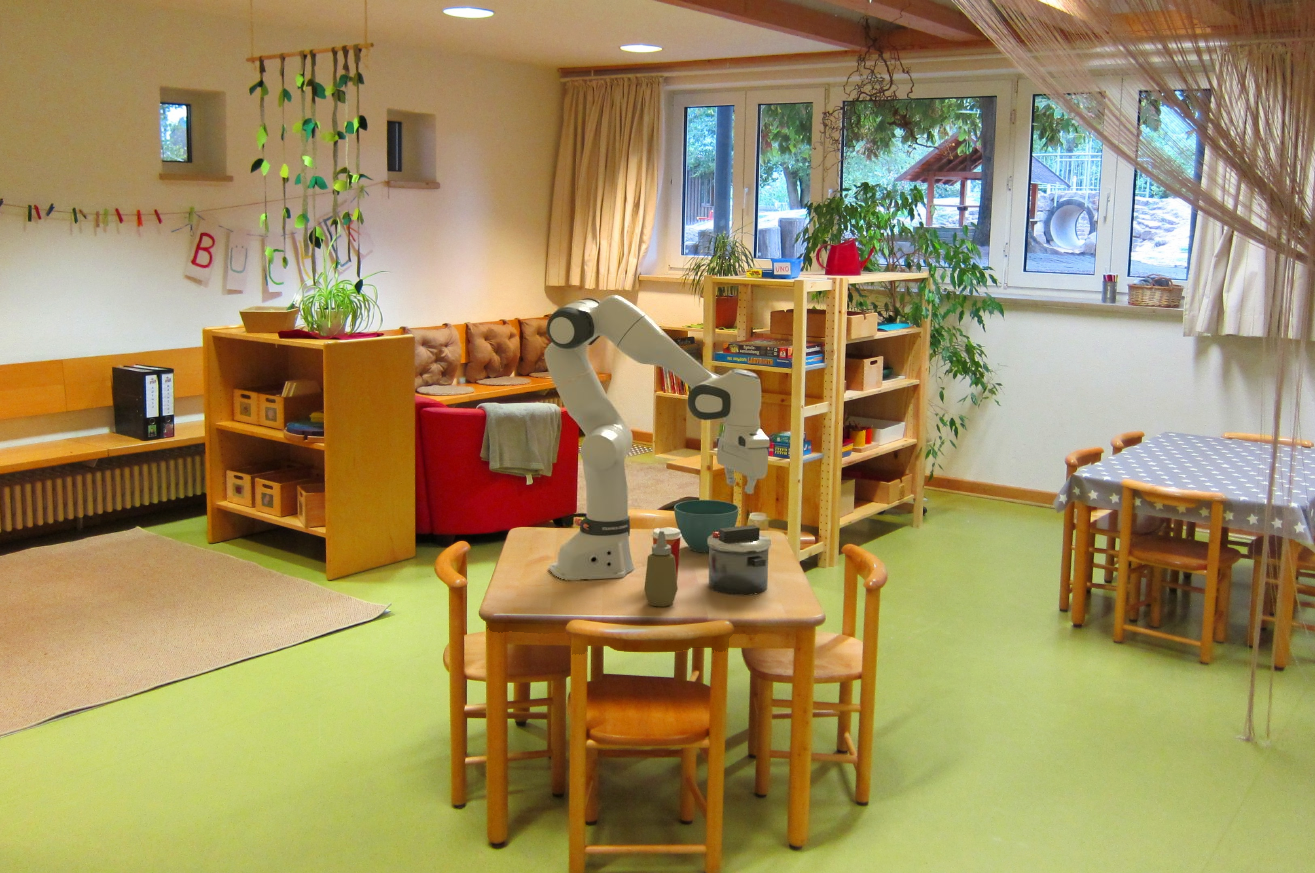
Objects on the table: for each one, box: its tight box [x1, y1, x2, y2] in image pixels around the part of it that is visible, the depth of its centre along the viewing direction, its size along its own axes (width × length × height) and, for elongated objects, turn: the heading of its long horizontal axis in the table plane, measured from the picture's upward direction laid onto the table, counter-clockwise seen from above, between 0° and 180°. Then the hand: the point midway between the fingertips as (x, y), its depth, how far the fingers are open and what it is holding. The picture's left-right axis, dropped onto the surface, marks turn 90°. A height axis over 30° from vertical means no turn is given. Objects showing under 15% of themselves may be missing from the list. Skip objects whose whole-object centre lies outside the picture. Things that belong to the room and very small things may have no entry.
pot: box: [708, 547, 770, 596], centre depth 295 cm, size 15×22×11 cm
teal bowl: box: [673, 499, 740, 554], centre depth 328 cm, size 18×18×12 cm
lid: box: [708, 524, 772, 553], centre depth 293 cm, size 16×16×4 cm
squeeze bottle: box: [643, 531, 679, 607], centre depth 280 cm, size 8×8×18 cm
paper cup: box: [651, 526, 683, 579], centre depth 296 cm, size 8×8×14 cm
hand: (739, 488), depth 291 cm, fingers open, 8 cm apart
